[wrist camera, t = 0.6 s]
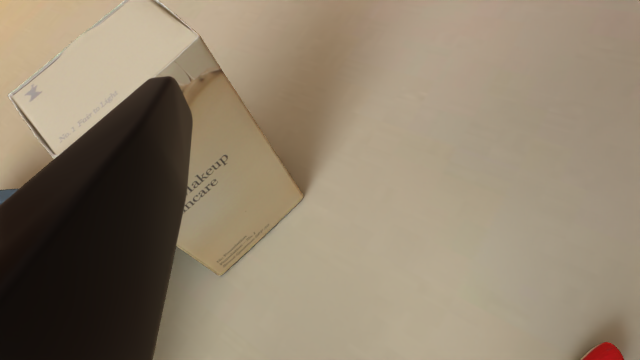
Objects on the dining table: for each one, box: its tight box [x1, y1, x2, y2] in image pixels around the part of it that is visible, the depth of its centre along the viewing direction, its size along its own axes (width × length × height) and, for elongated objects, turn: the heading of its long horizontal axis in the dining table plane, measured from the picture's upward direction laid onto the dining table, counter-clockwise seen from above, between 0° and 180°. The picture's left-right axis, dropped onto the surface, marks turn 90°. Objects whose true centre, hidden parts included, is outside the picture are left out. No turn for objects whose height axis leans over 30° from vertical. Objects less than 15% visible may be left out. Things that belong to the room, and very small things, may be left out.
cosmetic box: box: [8, 0, 303, 276], centre depth 22 cm, size 6×4×12 cm
